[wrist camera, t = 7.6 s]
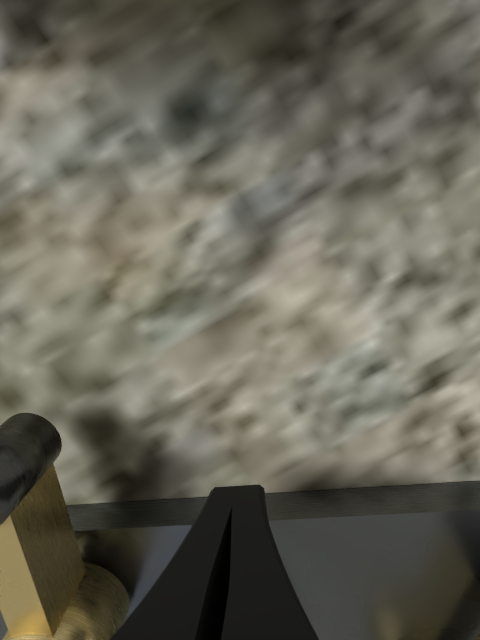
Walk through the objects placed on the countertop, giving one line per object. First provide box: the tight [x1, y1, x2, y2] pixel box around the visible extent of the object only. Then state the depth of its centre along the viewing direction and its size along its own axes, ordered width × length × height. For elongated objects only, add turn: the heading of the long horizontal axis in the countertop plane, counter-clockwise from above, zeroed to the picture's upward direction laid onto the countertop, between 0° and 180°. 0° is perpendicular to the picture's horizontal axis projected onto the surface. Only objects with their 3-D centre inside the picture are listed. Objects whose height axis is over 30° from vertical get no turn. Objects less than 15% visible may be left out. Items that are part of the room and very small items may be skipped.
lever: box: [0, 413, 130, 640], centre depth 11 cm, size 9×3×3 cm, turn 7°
